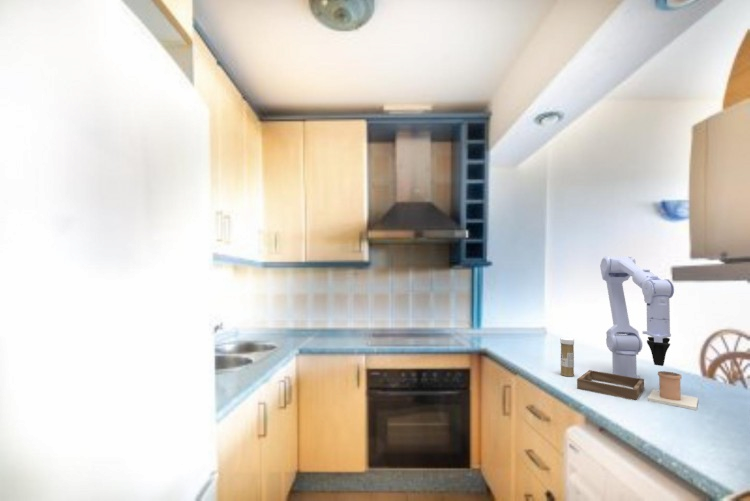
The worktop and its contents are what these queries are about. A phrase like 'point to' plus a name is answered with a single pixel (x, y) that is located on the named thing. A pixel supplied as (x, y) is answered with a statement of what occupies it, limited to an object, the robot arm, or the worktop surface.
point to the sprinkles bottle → (567, 356)
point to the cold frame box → (623, 392)
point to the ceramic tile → (684, 402)
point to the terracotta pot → (670, 385)
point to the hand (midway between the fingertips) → (658, 362)
